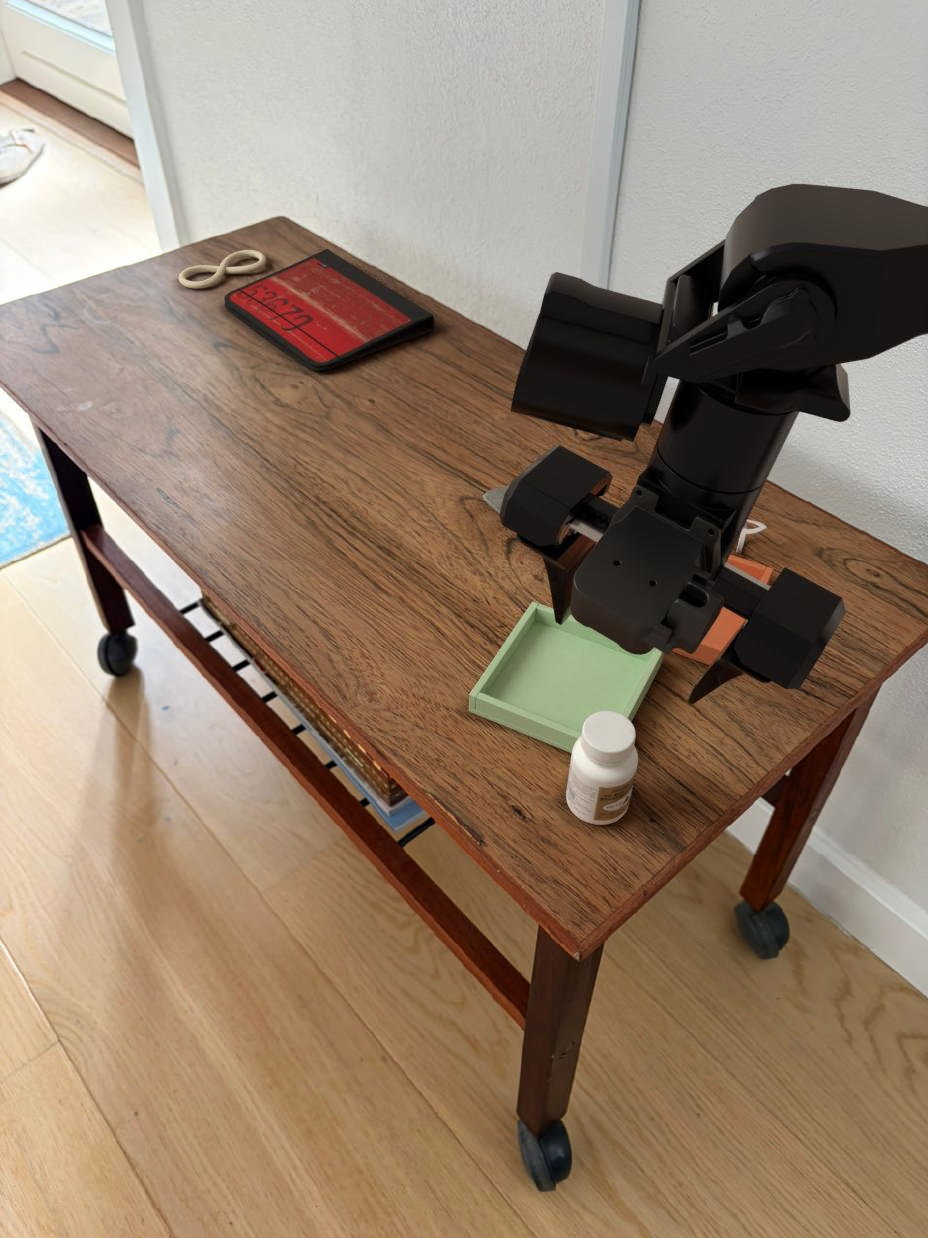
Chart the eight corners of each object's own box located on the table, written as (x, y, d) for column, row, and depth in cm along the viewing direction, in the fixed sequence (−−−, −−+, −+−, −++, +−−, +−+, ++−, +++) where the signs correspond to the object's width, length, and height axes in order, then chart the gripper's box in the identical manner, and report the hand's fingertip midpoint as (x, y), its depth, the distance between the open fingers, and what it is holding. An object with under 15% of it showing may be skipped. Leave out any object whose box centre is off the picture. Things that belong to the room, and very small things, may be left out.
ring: (737, 562, 88) (744, 535, 86) (718, 545, 90) (724, 518, 88) (760, 554, 89) (767, 527, 87) (740, 537, 91) (747, 510, 89)
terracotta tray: (768, 585, 87) (774, 568, 85) (729, 672, 80) (734, 655, 78) (644, 544, 90) (647, 527, 89) (596, 624, 83) (598, 607, 82)
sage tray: (660, 665, 80) (664, 648, 79) (607, 768, 73) (610, 751, 72) (531, 618, 84) (532, 600, 82) (468, 711, 77) (468, 694, 75)
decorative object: (274, 266, 126) (254, 251, 129) (272, 258, 125) (252, 243, 128) (191, 294, 121) (172, 278, 124) (189, 286, 120) (170, 270, 123)
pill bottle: (607, 838, 69) (621, 769, 63) (553, 805, 71) (562, 735, 65) (640, 795, 71) (656, 726, 66) (587, 764, 73) (598, 694, 68)
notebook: (328, 246, 125) (435, 312, 114) (330, 263, 127) (436, 330, 116) (214, 291, 118) (317, 366, 107) (218, 309, 120) (320, 385, 109)
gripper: (468, 441, 48) (424, 655, 59) (831, 643, 43) (707, 836, 54) (582, 351, 55) (524, 558, 66) (907, 515, 50) (783, 709, 61)
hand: (626, 658), depth 62 cm, fingers open, 9 cm apart
